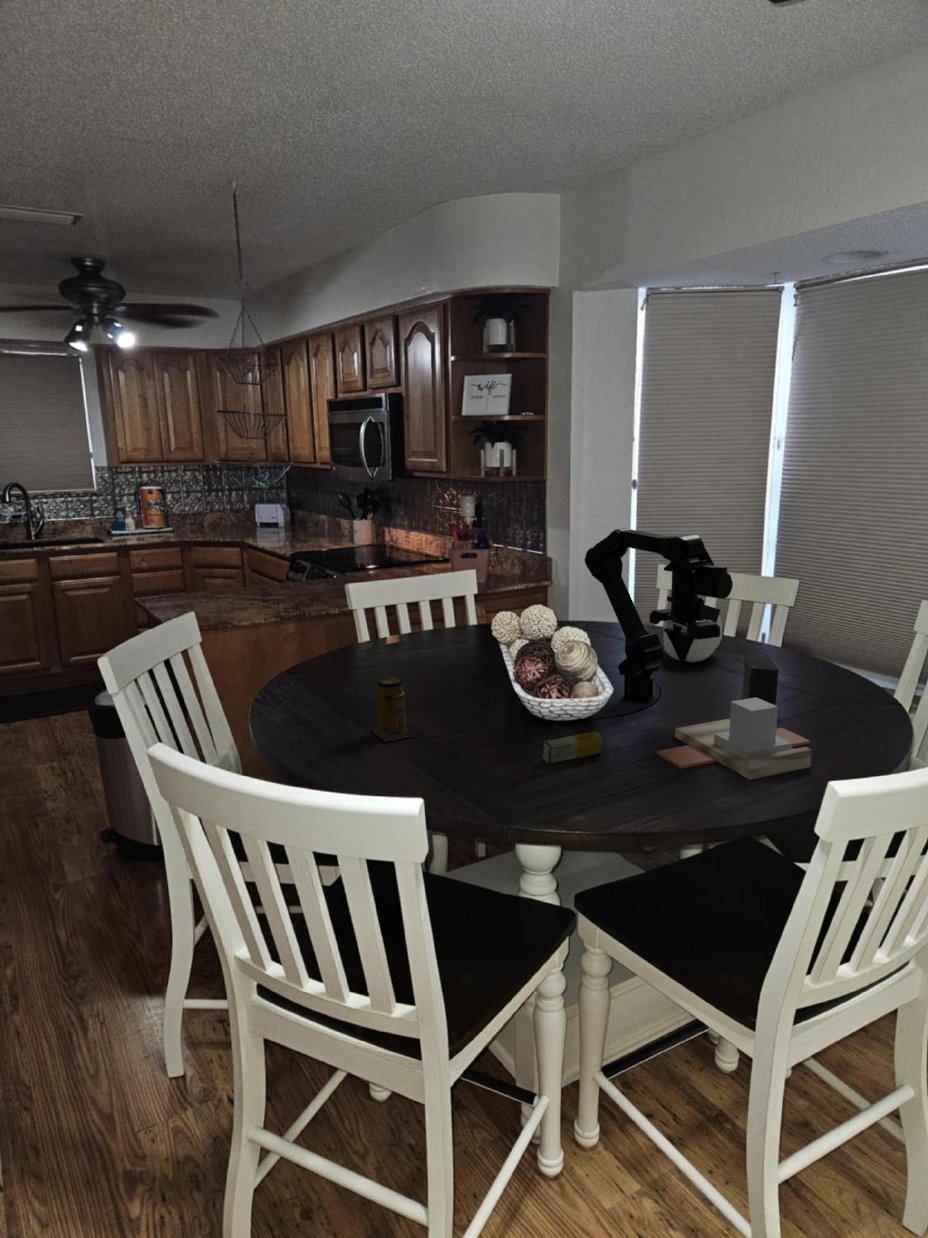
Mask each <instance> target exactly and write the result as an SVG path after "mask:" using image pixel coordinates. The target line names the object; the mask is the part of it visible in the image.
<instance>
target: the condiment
mask: <svg viewBox="0 0 928 1238" xmlns="http://www.w3.org/2000/svg"><path fill="white" fill-rule="evenodd" d="M376 710H377V729H378V730H379V732H381V733H382V734H389V735H392V734H400V733H402V732H404V731H405V730H406V729H407V728H406V726H407V725H406V724H407V721H406V720H407V718H406V715H407V714H406V699H405V692H404V690H403V681H402V679H401V678H398V677H383V678H381V679H379V680H378V681H377V692H376ZM405 728H406V729H405Z"/></svg>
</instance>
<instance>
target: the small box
mask: <svg viewBox="0 0 928 1238" xmlns="http://www.w3.org/2000/svg"><path fill="white" fill-rule="evenodd" d="M743 658H744V659H743V675H742V686H741V687H742V688H741V689H742V690H741V700H743V699H749V698H755V697H756V698H759V699H761V700H764V701H766V702H768V703H771V704H773V705H775V706H777V705H776V704H777V693H778V682H779V681H778V680H779V668H778V666H777V665H776V664H775V662H774V661H773V658H772V657H768V656H767V657H765V656H753V655H752V656H749V655H745V656H744V657H743Z"/></svg>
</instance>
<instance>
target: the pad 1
mask: <svg viewBox="0 0 928 1238" xmlns="http://www.w3.org/2000/svg"><path fill="white" fill-rule="evenodd" d="M656 755H658V756H659V757H660V758H662V759H664V760H665V761H667V762H669V763H670V764H672V765H674V766H675V767H677V768H678V769H680V770H683V769H689V768H692V767H699V766H702V765H707V764H713V763H716V762H717V761H716V759H715V758H713V757H711V756H710V755H708V754H706V753H704V752H702V751H701V750H699V749H697V748H695V747H694V746H692V745H688V744H686V745H682V746H675V747H672V748H668V749H667V748H666V749H662V750H661V749H660V750H657V751H656Z"/></svg>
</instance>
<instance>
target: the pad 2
mask: <svg viewBox="0 0 928 1238" xmlns="http://www.w3.org/2000/svg"><path fill="white" fill-rule="evenodd" d="M776 736H777V737H779V738H782V739H784V740H786V741H788V742H790V743H791V748H794V747H798V746H804V745H810V744H811V740H810V739H807V738H805V737H803V736H802V735H798V733H797V734H796V733H795V732H792V731H790V730H787V729H785V728H783V727H778V728H776Z"/></svg>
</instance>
